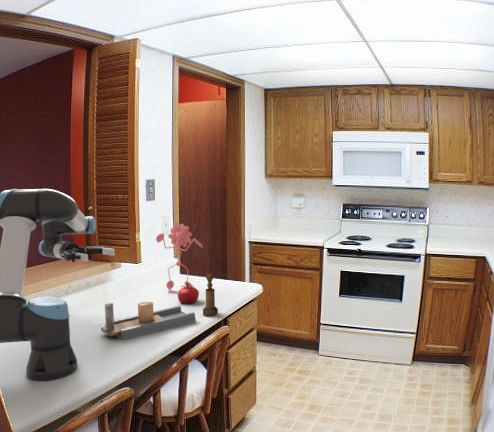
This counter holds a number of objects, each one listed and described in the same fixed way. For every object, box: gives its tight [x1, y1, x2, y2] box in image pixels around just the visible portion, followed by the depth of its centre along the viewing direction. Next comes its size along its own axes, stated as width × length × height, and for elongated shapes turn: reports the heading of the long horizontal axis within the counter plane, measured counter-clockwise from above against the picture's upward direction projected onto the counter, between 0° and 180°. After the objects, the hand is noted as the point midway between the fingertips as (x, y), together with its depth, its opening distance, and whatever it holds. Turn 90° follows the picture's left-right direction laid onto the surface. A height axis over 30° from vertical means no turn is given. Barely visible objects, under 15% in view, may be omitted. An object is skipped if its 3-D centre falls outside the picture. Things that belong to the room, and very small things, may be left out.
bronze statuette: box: [202, 273, 219, 318], centre depth 203 cm, size 7×6×18 cm
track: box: [114, 305, 196, 341], centre depth 190 cm, size 32×14×4 cm, turn 128°
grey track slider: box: [100, 302, 164, 337], centre depth 185 cm, size 24×9×11 cm, turn 128°
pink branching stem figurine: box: [155, 223, 204, 294], centre depth 241 cm, size 15×26×35 cm, turn 76°
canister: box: [137, 301, 154, 323], centre depth 188 cm, size 6×6×7 cm
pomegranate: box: [177, 283, 200, 304], centre depth 222 cm, size 10×10×9 cm
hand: (100, 255), depth 189 cm, fingers open, 13 cm apart
